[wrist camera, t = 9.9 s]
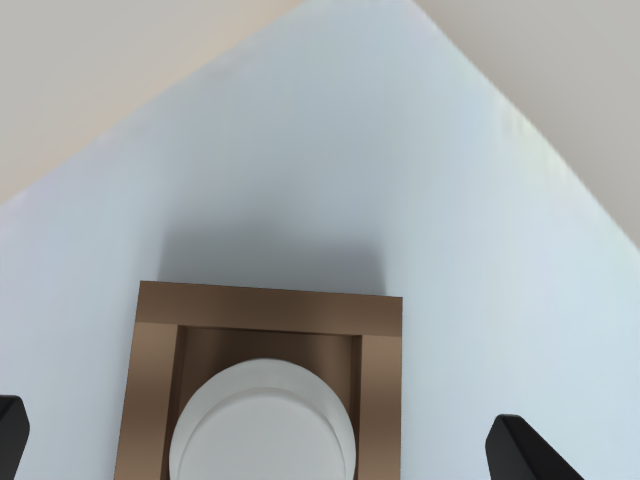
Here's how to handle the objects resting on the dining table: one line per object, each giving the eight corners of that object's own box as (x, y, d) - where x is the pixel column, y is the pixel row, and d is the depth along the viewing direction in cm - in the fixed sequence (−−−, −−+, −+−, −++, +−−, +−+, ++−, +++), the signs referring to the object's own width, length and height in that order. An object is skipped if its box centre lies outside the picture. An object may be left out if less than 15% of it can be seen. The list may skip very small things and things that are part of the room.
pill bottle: (172, 443, 20) (92, 522, 11) (248, 332, 22) (235, 316, 12) (282, 518, 20) (295, 666, 11) (351, 402, 22) (419, 441, 12)
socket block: (380, 554, 21) (398, 586, 18) (124, 549, 20) (99, 583, 17) (385, 304, 23) (402, 297, 20) (157, 290, 22) (140, 280, 19)
